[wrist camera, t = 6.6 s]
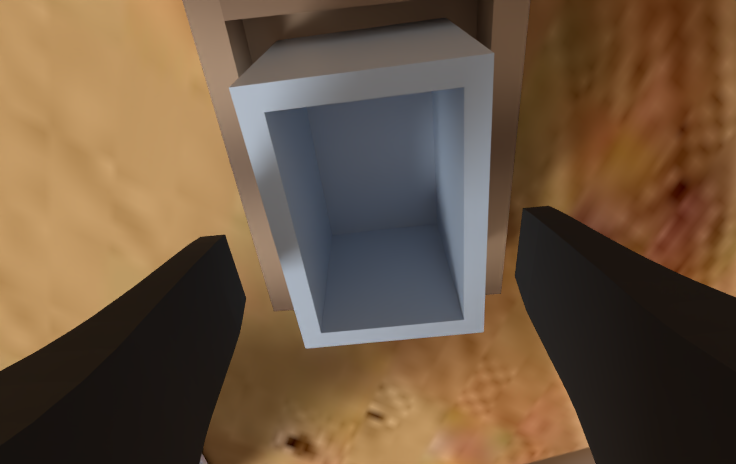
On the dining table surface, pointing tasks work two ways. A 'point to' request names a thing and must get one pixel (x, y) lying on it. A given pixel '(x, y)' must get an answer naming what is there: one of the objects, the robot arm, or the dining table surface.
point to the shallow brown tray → (344, 13)
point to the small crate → (375, 177)
